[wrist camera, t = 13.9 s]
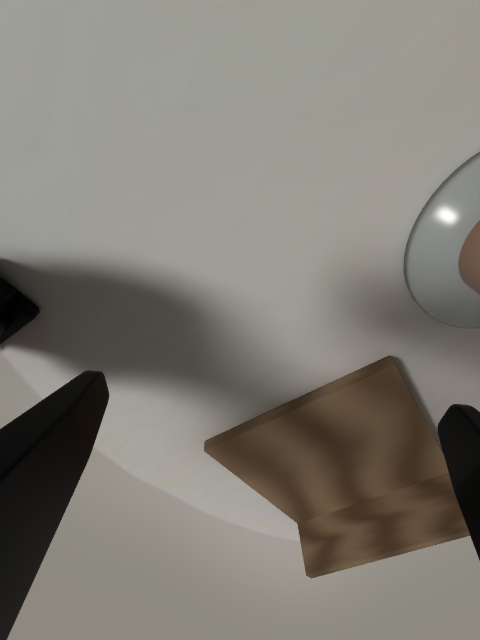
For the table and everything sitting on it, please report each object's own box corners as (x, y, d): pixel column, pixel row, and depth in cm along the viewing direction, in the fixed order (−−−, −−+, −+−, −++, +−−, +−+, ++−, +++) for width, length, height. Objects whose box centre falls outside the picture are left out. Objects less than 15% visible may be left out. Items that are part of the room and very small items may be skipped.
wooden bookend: (300, 518, 39) (311, 578, 34) (204, 441, 30) (200, 508, 25) (450, 467, 34) (488, 530, 29) (389, 355, 24) (431, 419, 19)
